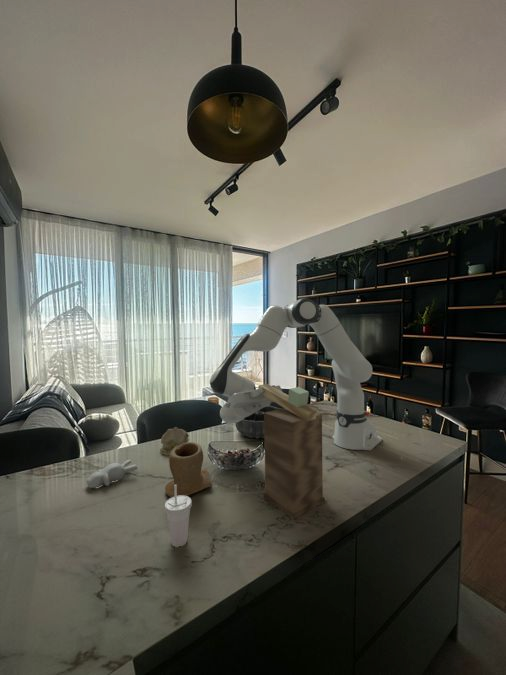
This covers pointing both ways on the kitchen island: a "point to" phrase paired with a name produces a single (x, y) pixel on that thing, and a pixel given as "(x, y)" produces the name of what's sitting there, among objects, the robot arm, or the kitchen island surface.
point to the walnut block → (293, 462)
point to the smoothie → (178, 517)
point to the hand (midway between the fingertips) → (268, 388)
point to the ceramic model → (173, 440)
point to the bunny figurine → (109, 474)
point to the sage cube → (298, 396)
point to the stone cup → (187, 470)
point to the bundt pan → (254, 423)
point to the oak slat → (282, 400)
